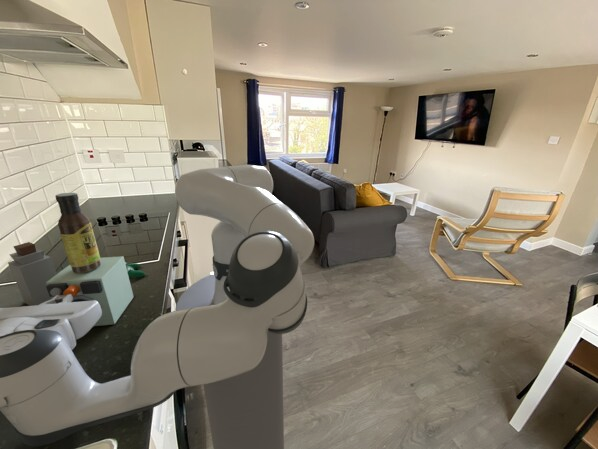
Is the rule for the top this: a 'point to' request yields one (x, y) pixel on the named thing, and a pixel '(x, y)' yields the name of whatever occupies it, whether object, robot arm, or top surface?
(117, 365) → the top surface
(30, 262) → the perfume bottle
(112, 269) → the washer
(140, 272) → the gaming controller
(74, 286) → the button
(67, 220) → the sauce bottle
